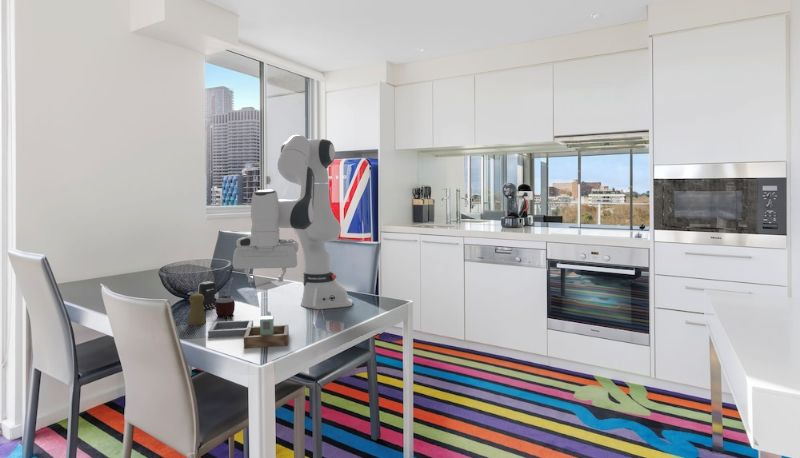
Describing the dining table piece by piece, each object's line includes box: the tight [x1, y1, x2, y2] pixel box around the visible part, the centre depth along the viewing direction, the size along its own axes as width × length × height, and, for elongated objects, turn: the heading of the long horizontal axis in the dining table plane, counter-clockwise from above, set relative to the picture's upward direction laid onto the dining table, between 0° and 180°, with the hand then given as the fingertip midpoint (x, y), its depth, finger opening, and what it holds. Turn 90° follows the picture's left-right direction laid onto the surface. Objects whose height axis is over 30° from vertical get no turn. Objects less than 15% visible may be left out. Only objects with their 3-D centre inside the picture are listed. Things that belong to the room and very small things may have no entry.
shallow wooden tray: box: [243, 324, 290, 349], centre depth 149 cm, size 13×11×4 cm
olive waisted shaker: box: [188, 293, 207, 327], centre depth 168 cm, size 6×6×11 cm
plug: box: [259, 315, 275, 335], centre depth 148 cm, size 4×5×8 cm
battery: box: [197, 281, 217, 312], centre depth 187 cm, size 7×4×11 cm, turn 147°
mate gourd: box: [215, 276, 236, 320], centre depth 176 cm, size 8×8×15 cm
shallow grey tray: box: [207, 319, 254, 339], centre depth 159 cm, size 13×11×2 cm
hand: (265, 281), depth 147 cm, fingers open, 8 cm apart
